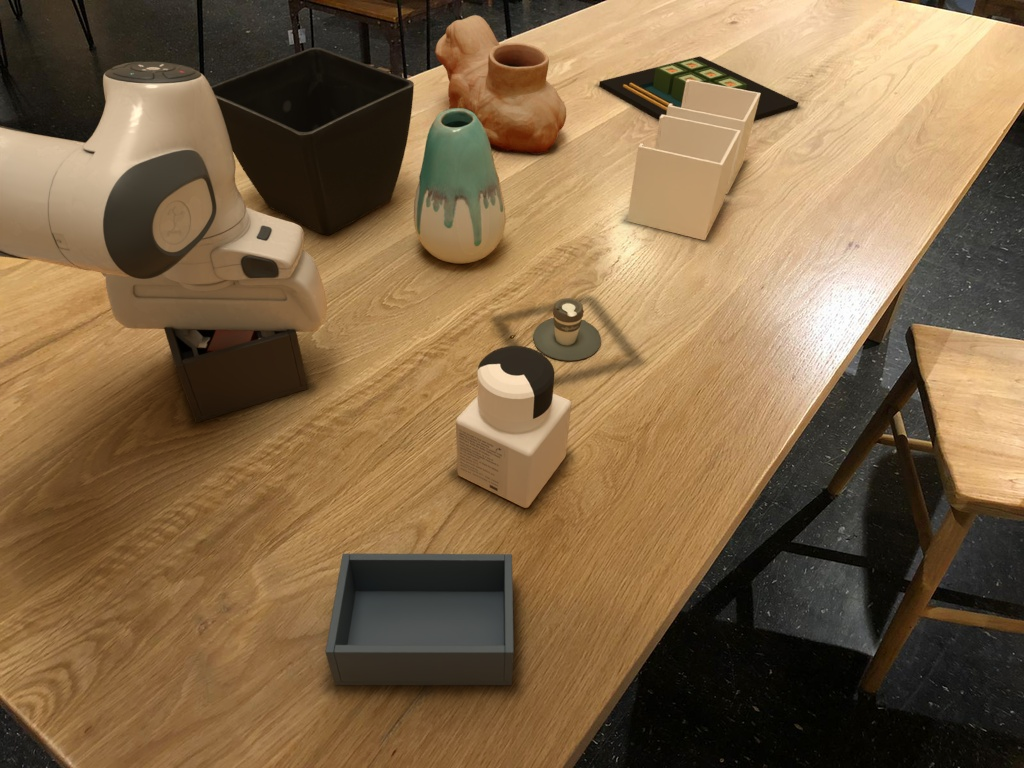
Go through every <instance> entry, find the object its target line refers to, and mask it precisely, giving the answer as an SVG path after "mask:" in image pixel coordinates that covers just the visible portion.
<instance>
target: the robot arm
mask: <svg viewBox="0 0 1024 768" xmlns="http://www.w3.org/2000/svg"><path fill="white" fill-rule="evenodd" d="M102 86H103V93H104V101H105V105H104V107H103V108H104V109H103V112H102V115H101V118H100V120H99V122H98V125H97V126H96V128H95V130H94V132H93V133H92V135H91V136H90V137H89V138H88V140H87V141H85V142H84V141H79V140H78V141H77V140H71V139H65V138H59V137H54V136H48V135H42V134H35V133H31V132H28V131H25V130H22V129H17V128H12V127H8V126H4V125H0V257H1V258H10V259H19V260H30V261H31V260H32V261H38V262H43V263H47V264H53V265H59V266H62V267H67V268H74V269H79V270H83V271H91V272H95V273H96V272H97V273H101V275H102V277H104V278H105V287H106V293H107V297H108V301H109V305H110V308H111V312H112V314H113V317H114V319H115V321H116V322H117V323H119V325H122V326H123V327H124V328H126V329H135V330H136V329H137V330H138V329H139V330H140V329H141V330H142V329H143V330H146V329H147V330H164V327H171V328H172V329H173V330H174V333H175V335H176V336H177V337H178V338H179V339H180V340H182V341H183V342H184V343H185V344H186V345H188V346H189V347H191V348H192V351H193V354H194V357H195V356H198V355H202V354H206V353H208V352H207V350H208V347H209V345H210V343H211V337H202V335H201V334H200V333H199V332H198V331H197V330H241V331H261V334H262V336H263V337H267V336H271V335H275V334H277V333H278V331H287V329H294V330H295V331H296V333H297V332H299V333H315V332H317V331H319V329H320V328H321V326H322V325H323V324H324V322H325V319H326V315H327V310H328V301H327V295H326V290H325V287H324V283H323V280H322V277H321V274H320V271H319V268H318V266H317V262H316V261H315V259H314V258H313V257H312V255H310V254H309V253H308V252H307V251H306V250H304V249H303V248H304V245H305V243H304V242H305V233H304V230H303V227H302V226H301V225H299V224H298V223H295V222H292V221H289V220H285V219H281V218H279V217H274V216H271V215H269V214H265V213H262V212H259V211H257V210H254V209H252V208H250V207H247V206H246V203H245V200H244V198H243V195H242V194H241V192H240V191H239V189H238V187H237V184H236V159H235V154H234V153H233V150H232V146H231V142H230V139H229V135H228V131H227V128H226V124H225V121H224V118H223V115H222V112H221V109H220V107H219V104H218V101H217V99H216V97H215V94H214V92H213V90H212V88H211V87H212V86H211V84H210V83H209V81H208V79H207V78H206V76H205V75H204V74H203V73H201V72H200V71H199V70H196V69H194V68H193V67H191V66H188V65H183V64H177V63H172V62H165V61H156V60H155V61H132V62H126V63H122V64H121V63H120V64H118V65H115V66H112V68H110V69H108V70H107V71H105V72H104V74H103V77H102ZM258 339H260V338H258Z"/></svg>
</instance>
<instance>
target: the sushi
mask: <svg viewBox="0 0 1024 768" xmlns="http://www.w3.org/2000/svg"><path fill="white" fill-rule="evenodd" d="M688 79H689V80H694V81H699V82H705V83H710V84H715V85H720V86H726V87H731V88H736V89H742V90H747V91H752V92H757V93H761V94H760V98H759V102H758V106H757V110H756V114H755V118H754V121H757V120H761V119H764V118H768V117H770V116H775V115H777V114H780V113H783V112H787V111H790V110H793V109H796V108H798V106H799V101H797V100H795V99H792V98H790V97H788V96H786V95H785V94H782V93H780V92H777V91H775V90H773V89H771V88H769V87H766V86H764V85H763V84H760V83H758V82H756V81H755V80H752V79H750V78H748V77H746V76H744V75H741V74H738V72H735V71H732V70H731V69H728V68H727V67H724V66H721V65H720V64H717V63H715V62H713V61H711V60H709V59H707V58H705V57H703V56H700V55H699V56H695V57H691V58H688V59H683V60H679V61H676V62H671V63H667V64H663V65H660V66H654V67H651V68H647V69H643V70H639V71H635V72H631V73H627V74H622V75H619V76H616V77H615V76H614V77H611V78H608V79H604V80H599V85H598V87H600V88H602V89H603V90H605V91H607V92H608V93H610V94H612V95H614V96H616V97H617V98H619V99H621V100H623V101H624V102H626V103H628V104H630V105H631V106H633V107H635V108H637V109H639V110H640V111H642V112H644V113H646V114H647V115H649V116H651V117H653V118H655V120H657V121H659V118H660V116H661V115H666V114H667V108H668V105H669V104H670V103H671V104H673V105H672V106H675V107H680V108H681V105H682V100H683V95H684V89H685V84H686V81H687V80H688Z"/></svg>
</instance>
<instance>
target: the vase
mask: <svg viewBox="0 0 1024 768" xmlns="http://www.w3.org/2000/svg"><path fill="white" fill-rule="evenodd" d="M418 180H419V181H418V184H417V187H416V190H415V196H414V201H413V202H414V205H413V226H414V231H415V234H416V237H417V238H418V240H419V242H420V244H421V245H422V247H423V248H424V249H425V250H426V252H428V253H429V254H430V255H431V256H433V257H435V258H436V259H438V260H440V261H443V262H446V263H449V264H450V263H451V264H461V265H462V264H469V263H475V262H478V261H480V260H483V259H484V258H486V257H487V256H489V255H490V254H491V253H493V251H494V250H495V249H496V248H497V247H498V245H499V244H500V242H501V241H502V238H503V235H504V233H505V228H506V221H507V218H506V217H507V216H506V206H505V201H504V196H503V192H502V185H501V183H500V178H499V175H498V171H497V168H496V165H495V160H494V155H493V152H492V148H491V146H490V142H489V139H488V136H487V133H486V131H485V129H484V127H483V125H482V123H481V122H480V120H479V119H478V118H477V116H476V115H475V114H474V113H473V112H471V111H469V110H467V109H462V108H453V109H449V108H448V109H446V110H444V111H441V112H439V114H438V115H437V116H436V117H435V118H434V120H433V122H432V123H431V125H430V127H429V130H428V133H427V136H426V142H425V147H424V154H423V158H422V164H421V168H420V173H419V177H418Z"/></svg>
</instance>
